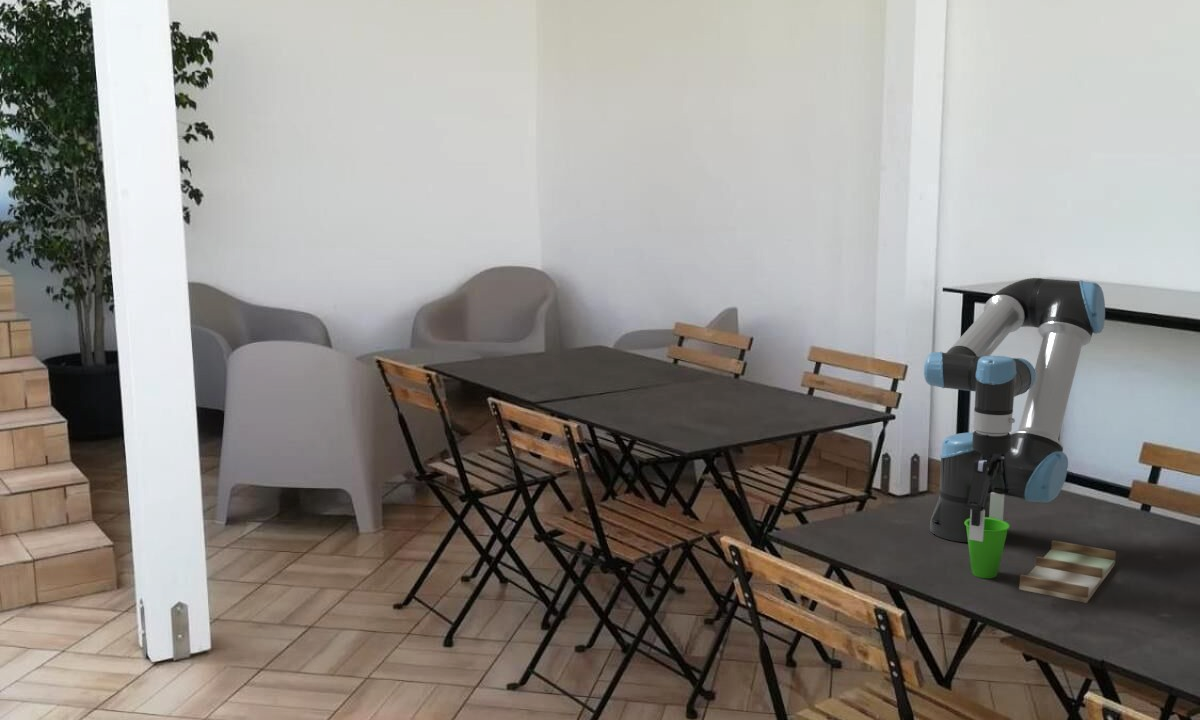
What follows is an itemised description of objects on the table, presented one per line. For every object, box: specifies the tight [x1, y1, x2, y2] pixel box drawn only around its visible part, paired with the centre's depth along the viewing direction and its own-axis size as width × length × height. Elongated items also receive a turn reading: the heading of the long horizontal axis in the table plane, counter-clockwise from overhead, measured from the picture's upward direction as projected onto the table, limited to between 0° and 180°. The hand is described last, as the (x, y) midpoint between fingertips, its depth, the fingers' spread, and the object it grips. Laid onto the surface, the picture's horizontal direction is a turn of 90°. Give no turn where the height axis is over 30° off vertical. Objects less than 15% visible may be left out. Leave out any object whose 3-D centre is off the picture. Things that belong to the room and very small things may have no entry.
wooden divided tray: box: [1018, 539, 1117, 604], centre depth 250 cm, size 13×26×3 cm, turn 146°
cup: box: [964, 517, 1011, 579], centre depth 251 cm, size 9×9×11 cm
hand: (986, 531), depth 250 cm, fingers open, 13 cm apart
